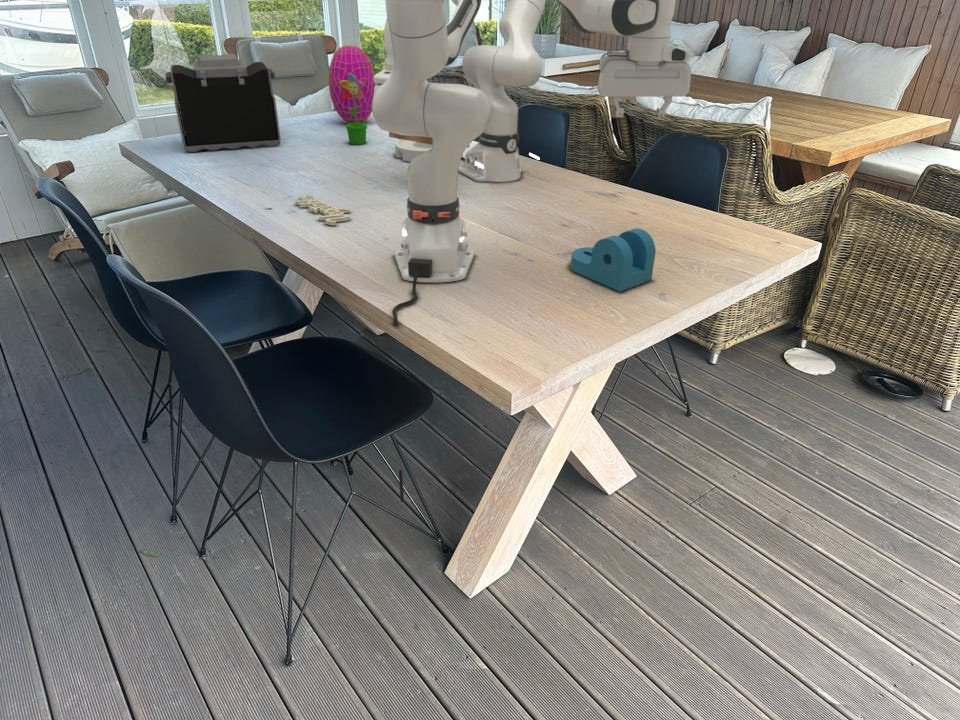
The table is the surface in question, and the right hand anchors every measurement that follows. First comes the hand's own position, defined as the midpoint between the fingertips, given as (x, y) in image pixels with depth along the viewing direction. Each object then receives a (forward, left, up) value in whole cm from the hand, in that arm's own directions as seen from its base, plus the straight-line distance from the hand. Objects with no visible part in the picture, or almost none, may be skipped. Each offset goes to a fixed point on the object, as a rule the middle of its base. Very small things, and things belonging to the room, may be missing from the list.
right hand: (402, 124), depth 208 cm
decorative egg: (-87, +33, -18) cm, 95 cm away
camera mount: (+88, -4, -18) cm, 90 cm away
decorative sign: (+10, -33, -18) cm, 39 cm away
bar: (+10, +3, -4) cm, 11 cm away
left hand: (+79, +13, +13) cm, 81 cm away
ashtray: (-24, +26, -18) cm, 39 cm away
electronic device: (-82, -24, -18) cm, 87 cm away
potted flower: (-55, +15, -18) cm, 59 cm away
